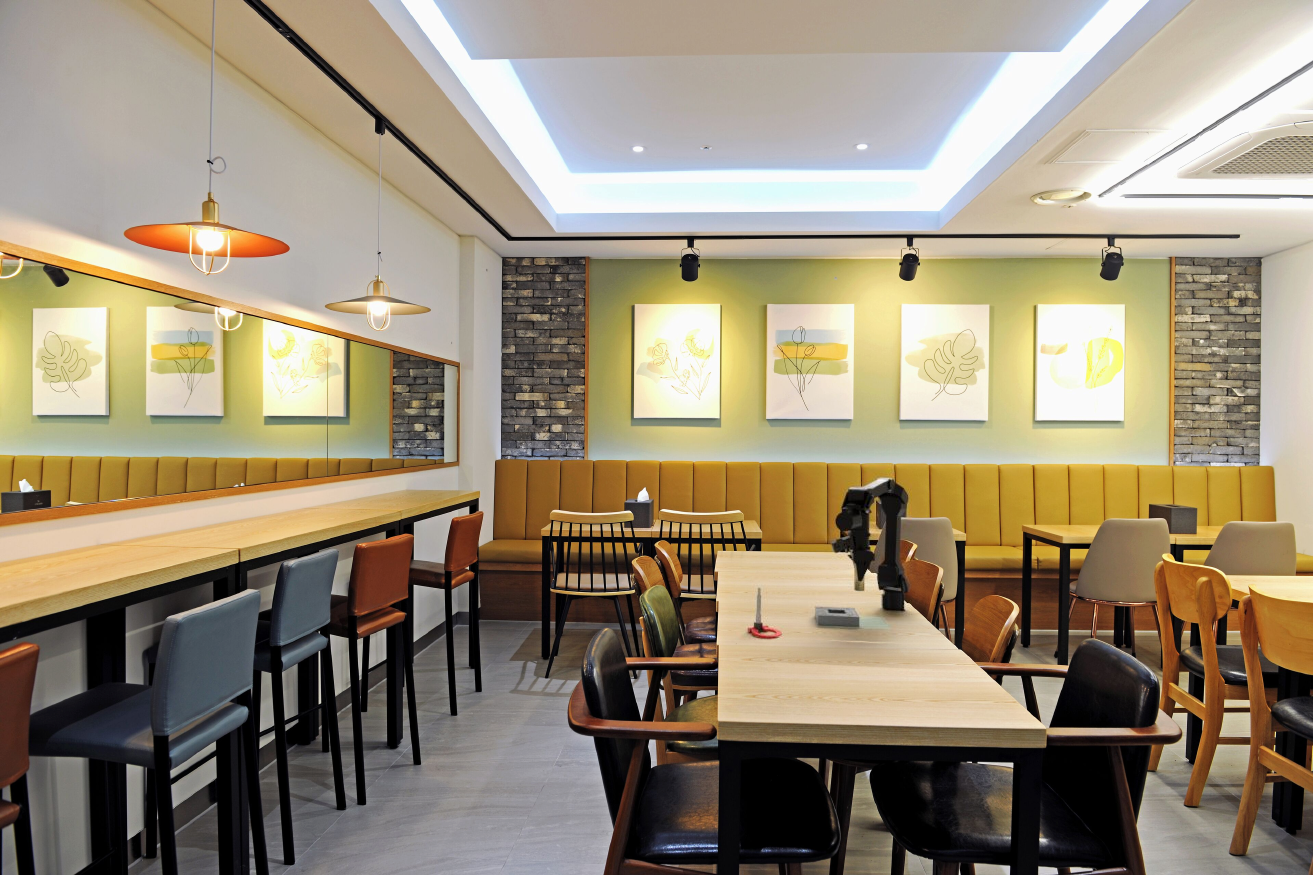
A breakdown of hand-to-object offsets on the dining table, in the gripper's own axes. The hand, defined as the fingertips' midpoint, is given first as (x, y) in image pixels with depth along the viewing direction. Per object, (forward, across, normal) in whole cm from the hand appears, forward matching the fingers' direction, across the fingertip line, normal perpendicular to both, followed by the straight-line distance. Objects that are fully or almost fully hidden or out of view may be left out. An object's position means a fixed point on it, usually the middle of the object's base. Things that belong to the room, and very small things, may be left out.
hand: (859, 580), depth 223 cm
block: (+13, 0, -7) cm, 14 cm away
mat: (+13, 0, -2) cm, 13 cm away
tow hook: (+14, +16, -28) cm, 35 cm away
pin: (+3, 0, 0) cm, 3 cm away
